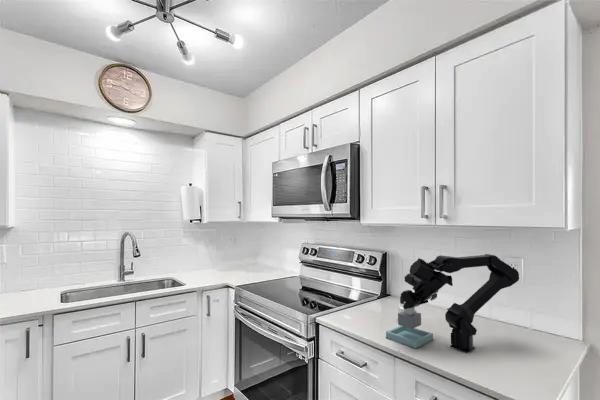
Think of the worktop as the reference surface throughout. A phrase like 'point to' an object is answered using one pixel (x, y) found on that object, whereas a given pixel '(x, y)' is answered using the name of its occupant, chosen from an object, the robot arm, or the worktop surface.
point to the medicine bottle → (401, 305)
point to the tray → (409, 336)
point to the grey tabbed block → (409, 318)
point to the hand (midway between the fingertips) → (406, 307)
